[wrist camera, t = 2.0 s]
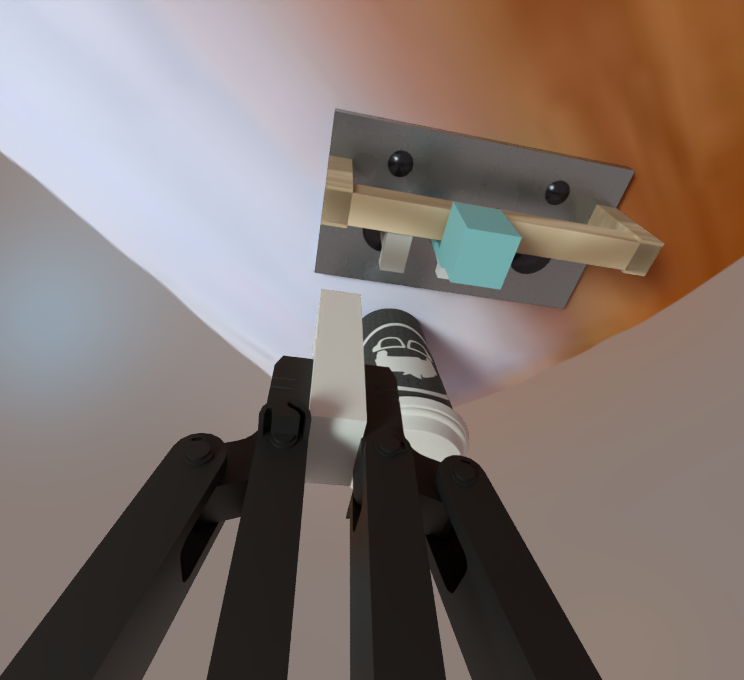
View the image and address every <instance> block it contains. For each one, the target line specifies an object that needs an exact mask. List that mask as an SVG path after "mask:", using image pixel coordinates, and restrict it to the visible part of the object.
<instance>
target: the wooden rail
mask: <svg viewBox="0 0 744 680" xmlns="http://www.w3.org/2000/svg"><path fill="white" fill-rule="evenodd" d="M453 202H455V201H450V200H444V199H438V198H433V197H427V196H421V195H416V194H410V193H404V192H399V191H393V190H387V189H382V188H376V187H370V186H365V185H359V184H353V169H352V159H347V158H341V157H336V156H331V155H329V162H328V170H327V178H326V186H325V194H324V202H323V210H322V218H321V224H323V225H329V226H335V227H342V228H347V225H349V226H355V227H361V228H367V229H373V230H380V237H381V244H382V249H381V254H380V259H379V267H380V270H384V271H391V272H397V273H404V269H405V265H406V261H407V257H408V254H409V250H410V246H411V242H412V238H413V236H417V237H423V238H429V239H435V240H441V241H442V237H443V234H444V231H445V227H446V224H447V221H448V217H449V214H450V211H451V207H452V204H453ZM458 203H461V202H458ZM463 204H467V203H463ZM469 205H472V204H469ZM475 206H478V205H475ZM480 207H484V206H480ZM486 208H490V207H486ZM492 209H495V208H492ZM498 210H501V209H498ZM501 211H502V212H503V213H504V215H505V216H506V217H507V219H508V220H509V221H510V223H511V224H512V225H513V226H514V228H515V229H516V230H517V232H518V233H519V234H520V236H521V237H522V238H521V241H520V243H519V246H518V248H517V251H516V253H521V254H528V255H534V256H540V257H546V258H552V259H558V260H565V261H571V262H577V263H583V264H589V265H595V266H602V267H608V268H614V269H620V270H621V271H622V272H623V273H627V274H633V275H639V276H645V275H646V273H647V271H648V270H649V268H650V266H651V265H652V263H653V262H654V260H655V258H656V257H657V255H658V253H659V252H660V250H661V249H662V247H663V245H664V243H663V242H661V241H660V240H659V239H657V238H656V237H655V236H653V235H652V234H650V233H649V232H648V231H646V230H645V229H644V228H642V227H641V226H640V225H638V224H637V223H636V222H634V221H633V220H631V219H630V218H629V217H627V216H626V215H625V214H623V213H622V212H621V211H619V210H618V209H616V208H613V207H608V206H602V205H596V207H595V209H594V211H593V213H592V215H591V217H590V219H589V222H588V224H587V225H586V224H580V223H575V222H569V221H563V220H558V219H552V218H546V217H541V216H535V215H529V214H524V213H518V212H512V211H507V210H501Z"/></svg>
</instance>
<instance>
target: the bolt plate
mask: <svg viewBox="0 0 744 680" xmlns="http://www.w3.org/2000/svg"><path fill="white" fill-rule="evenodd" d="M329 155H331V156H336V157H341V158H347V159H352V169H353V184H359V185H365V186H370V187H376V188H382V189H387V190H393V191H399V192H404V193H410V194H416V195H421V196H427V197H433V198H438V199H444V200H450V201H455V202H461V203H467V204H472V205H478V206H484V207H490V208H495V209H501V210H507V211H512V212H518V213H524V214H529V215H535V216H541V217H546V218H552V219H558V220H563V221H569V222H575V223H580V224H586V225H587V224H588V222H589V219H590V217H591V215H592V213H593V211H594V209H595V207H596V205H602V206H608V207H613V208H616V207H617V205H618V203H619V201H620V199H621V197H622V195H623V193H624V191H625V189H626V187H627V186H628V184H629V182H630V180H631V178H632V176H633V174H634V172H635V171H634V170H633V169H631V168H629V167H626V166H621V165H616V164H611V163H606V162H601V161H596V160H591V159H586V158H581V157H576V156H571V155H566V154H561V153H556V152H551V151H546V150H541V149H536V148H531V147H526V146H521V145H516V144H511V143H506V142H501V141H496V140H491V139H485V138H480V137H475V136H470V135H465V134H460V133H455V132H450V131H445V130H440V129H435V128H430V127H425V126H420V125H415V124H410V123H405V122H400V121H395V120H390V119H385V118H380V117H375V116H370V115H365V114H360V113H355V112H350V111H345V110H340V109H335V114H334V122H333V130H332V138H331V146H330V154H329ZM381 249H382V244H381V237H380V230H373V229H367V228H361V227H355V226H349V225H347V228H342V227H335V226H329V225H323V224H321V226H320V234H319V242H318V250H317V258H316V266H315V273H322V274H329V275H336V276H342V277H349V278H356V279H363V280H370V281H377V282H384V283H391V284H398V285H405V286H411V287H418V288H425V289H432V290H439V291H446V292H453V293H460V294H467V295H473V296H480V297H487V298H494V299H501V300H508V301H515V302H522V303H529V304H535V305H542V306H549V307H556V308H563V309H564V307H565V305H566V303H567V301H568V299H569V297H570V295H571V294H572V292H573V290H574V288H575V286H576V284H577V282H578V280H579V278H580V276H581V274H582V272H583V270H584V268H585V267H586V265H587V264H583V263H577V262H571V261H565V260H558V259H552V258H546V257H540V256H534V255H528V254H521V253H515V256H514V258H513V260H512V263H511V265H510V268H509V270H508V273H507V275H506V278H505V280H504V283H503V285H502V287H501V290H500V289H493V288H486V287H480V286H473V285H466V284H459V283H453V282H450V280H449V279H442V278H437V275H436V272H435V270H436V267H437V263H438V262H437V259H436V256H435V254H434V251H433V248H432V245H431V242H430V239H429V238H423V237H417V236H413V238H412V242H411V246H410V250H409V254H408V257H407V261H406V265H405V269H404V273H397V272H391V271H384V270H380V267H379V259H380V254H381Z"/></svg>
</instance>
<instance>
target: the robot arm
mask: <svg viewBox="0 0 744 680" xmlns="http://www.w3.org/2000/svg"><path fill="white" fill-rule="evenodd" d="M352 478H353V492H352V496H351V500H350V504H349V508H348V512H347V516H346V518H347V519H350V680H446V676H445V669H444V662H443V655H442V649H441V641H440V635H439V628H438V621H437V615H436V607H435V601H434V594H433V587H432V581H431V573H432V575H433V578H434V580H435V583H436V586H437V588H438V591H439V594H440V596H441V599H442V602H443V604H444V607H445V610H446V612H447V615H448V618H449V620H450V623H451V625H452V628H453V631H454V633H455V636H456V639H457V641H458V644H459V647H460V649H461V652H462V654H463V657H464V660H465V662H466V665H467V668H468V670H469V673H470V676H471V678H472V680H602V679H601V677H600V675H599V673H598V672H597V670H596V668H595V666H594V664H593V663H592V661H591V659H590V657H589V656H588V654H587V652H586V650H585V649H584V647H583V645H582V643H581V641H580V640H579V638H578V636H577V634H576V633H575V631H574V629H573V627H572V626H571V624H570V622H569V620H568V618H567V617H566V615H565V613H564V612H563V610H562V608H561V606H560V604H559V603H558V601H557V599H556V597H555V595H554V594H553V592H552V590H551V588H550V587H549V585H548V583H547V582H546V580H545V578H544V576H543V574H542V573H541V571H540V569H539V567H538V566H537V564H536V562H535V560H534V558H533V557H532V555H531V553H530V551H529V550H528V548H527V546H526V544H525V542H524V541H523V539H522V537H521V535H520V534H519V532H518V530H517V528H516V526H515V525H514V523H513V521H512V519H511V518H510V516H509V514H508V512H507V511H506V509H505V507H504V505H503V504H502V502H501V500H500V498H499V496H498V495H497V493H496V491H495V489H494V488H493V486H492V484H491V482H490V481H489V479H488V477H487V475H486V473H485V472H484V471H483V469H482V468H481V467H480V465H479V464H477V463H476V462H475V461H473V460H472V459H470V458H467V457H465V456H462V455H451V456H448V457H446V458H445V459H444V460H443V461H442V462H439V461H437V460H434V459H431V458H428V457H426V456H424V455H422V454H420V453H418V452H417V451H415V450H414V449H413V448H412V447H411V445H410V442H409V441H408V440H407V439H406V438H405V435H404V430H403V423H402V415H401V408H400V401H399V393H398V386H397V379H396V377H395V375H394V374H393V372H392V371H391V369H390V368H389V367H383V366H375V365H366V364H364V350H363V329H362V309H361V294H355V293H348V292H341V291H334V290H327V289H321V295H320V302H319V309H318V316H317V324H316V331H315V338H314V345H313V355H312V359H307V358H299V357H290V356H283V357H282V358H281V359H280V360H279V361H278V362H277V363H276V364H275V366H274V371H273V376H272V381H271V386H270V390H269V395H268V400H267V404H265V405H264V406H263V407H262V409H261V411H260V413H259V424H258V431H257V432H256V433H254V434H253V435H251V436H249V437H247V438H246V439H242V440H238V441H233V442H227V443H224V442H223V441H222V440H221V439H220V438H219V437H217V436H214V435H212V434H206V433H198V434H191V435H189V436H187V437H184V438H182V439H180V440H179V441H178V442H177V443H176V444H175V445H174V446H173V447H172V448H171V450H170V451H169V453H168V454H167V455H166V456H165V458H164V459H163V460H162V462H161V463H160V464H159V466H158V467H157V468H156V470H155V471H154V472H153V474H152V475H151V476H150V478H149V479H148V480H147V482H146V483H145V484H144V486H143V487H142V488H141V490H140V491H139V492H138V494H137V495H136V496H135V498H134V499H133V500H132V502H131V503H130V504H129V506H128V507H127V508H126V510H125V511H124V512H123V514H122V515H121V516H120V518H119V519H118V520H117V522H116V523H115V524H114V526H113V527H112V528H111V529H110V531H109V532H108V534H107V535H106V536H105V537H104V539H103V540H102V542H101V543H100V544H99V545H98V547H97V548H96V549H95V551H94V552H93V553H92V555H91V556H90V557H89V559H88V560H87V561H86V563H85V564H84V566H83V567H82V568H81V569H80V571H79V572H78V573H77V575H76V576H75V577H74V579H73V580H72V581H71V583H70V584H69V585H68V587H67V588H66V589H65V591H64V592H63V593H62V595H61V596H60V597H59V599H58V600H57V601H56V603H55V604H54V605H53V607H52V608H51V609H50V611H49V612H48V613H47V615H46V616H45V617H44V619H43V620H42V621H41V623H40V624H39V625H38V627H37V628H36V629H35V631H34V632H33V633H32V634H31V636H30V637H29V638H28V640H27V641H26V642H25V644H24V645H23V646H22V648H21V649H20V650H19V652H18V653H17V654H16V656H15V657H14V658H13V660H12V661H11V663H10V664H9V665H8V666H7V668H6V669H5V670H4V672H3V673H2V674H1V676H0V680H142V679H143V677H144V675H145V673H146V671H147V669H148V667H149V665H150V663H151V661H152V659H153V658H154V656H155V654H156V652H157V650H158V648H159V646H160V644H161V642H162V640H163V639H164V637H165V635H166V633H167V631H168V629H169V627H170V625H171V623H172V621H173V620H174V618H175V616H176V614H177V612H178V610H179V608H180V606H181V604H182V602H183V600H184V599H185V597H186V595H187V593H188V591H189V589H190V587H191V585H192V583H193V581H194V579H195V577H196V576H197V574H198V572H199V570H200V568H201V566H202V564H203V562H204V560H205V559H206V556H207V555H208V553H209V551H210V549H211V547H212V545H213V543H214V541H215V539H216V537H217V536H218V534H219V532H220V530H221V528H222V526H223V524H224V522H225V520H229V519H233V518H237V517H241V519H240V523H239V528H238V532H237V537H236V542H235V547H234V551H233V556H232V561H231V566H230V570H229V575H228V580H227V585H226V590H225V594H224V599H223V604H222V609H221V613H220V618H219V623H218V627H217V632H216V637H215V642H214V647H213V652H212V656H211V661H210V666H209V670H208V675H207V680H287V674H288V663H289V652H290V641H291V630H292V618H293V608H294V607H293V606H294V596H295V585H296V573H297V562H298V551H299V540H300V529H301V517H302V506H303V495H304V484H305V482H308V483H320V484H333V485H345V486H351V482H352ZM430 570H431V573H430Z"/></svg>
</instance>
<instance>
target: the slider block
mask: <svg viewBox="0 0 744 680" xmlns="http://www.w3.org/2000/svg"><path fill="white" fill-rule="evenodd" d="M521 238H522V237H521V236H520V234H519V233H518V232H517V230H516V229H515V228H514V226H513V225H512V224H511V223H510V221H509V220H508V219H507V217H506V216H505V215H504V213H503V212H502V211H501V210H498V209H492V208H486V207H480V206H475V205H469V204H463V203H458V202H453V204H452V207H451V211H450V214H449V217H448V221H447V224H446V227H445V231H444V234H443V237H442V241H441V240H435V239H430V242H431V245H432V248H433V251H434V254H435V256H436V259H437V262H438V263H437V267H436V270H435V272H436V275H437V278H442V279H449V280H450V282H453V283H459V284H466V285H473V286H480V287H486V288H493V289H500V290H501V287H502V285H503V283H504V280H505V278H506V275H507V273H508V270H509V268H510V265H511V263H512V260H513V258H514V256H515V253H516V251H517V248H518V246H519V243H520V241H521Z"/></svg>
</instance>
